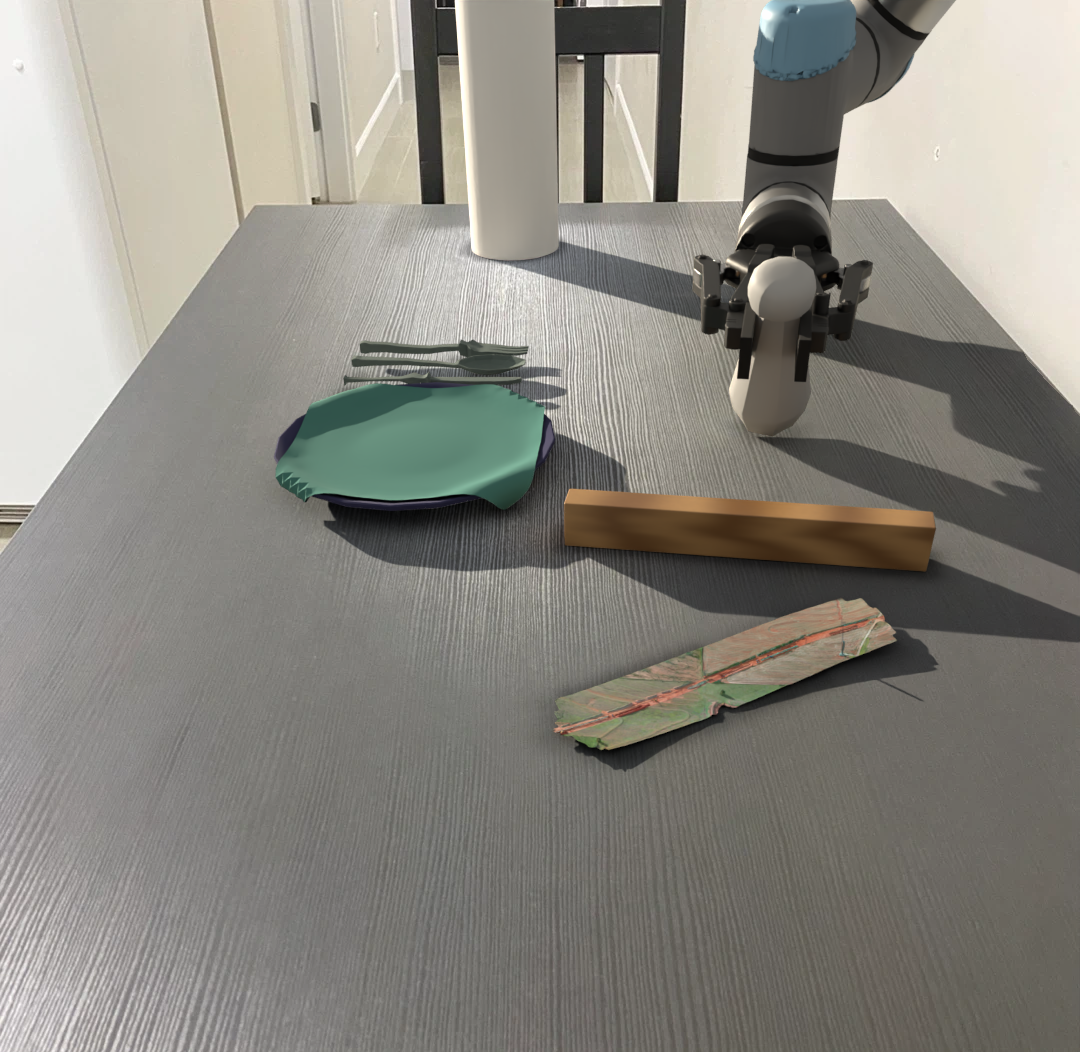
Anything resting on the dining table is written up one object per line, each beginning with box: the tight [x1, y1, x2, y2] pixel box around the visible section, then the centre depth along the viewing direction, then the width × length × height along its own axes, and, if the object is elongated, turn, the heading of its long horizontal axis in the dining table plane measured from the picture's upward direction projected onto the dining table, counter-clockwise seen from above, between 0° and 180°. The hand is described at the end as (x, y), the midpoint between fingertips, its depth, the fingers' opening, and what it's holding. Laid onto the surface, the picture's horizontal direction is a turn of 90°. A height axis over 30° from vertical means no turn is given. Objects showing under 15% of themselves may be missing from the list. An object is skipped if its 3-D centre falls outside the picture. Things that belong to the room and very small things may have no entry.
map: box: [552, 597, 898, 751], centre depth 58 cm, size 5×20×1 cm, turn 117°
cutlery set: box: [273, 339, 556, 512], centre depth 81 cm, size 20×30×2 cm, turn 176°
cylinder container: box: [454, 0, 560, 261], centre depth 108 cm, size 9×9×30 cm
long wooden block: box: [563, 488, 937, 572], centre depth 67 cm, size 22×2×3 cm, turn 79°
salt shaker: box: [728, 257, 816, 437], centre depth 75 cm, size 6×6×13 cm
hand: (773, 359), depth 69 cm, fingers closed on salt shaker, 3 cm apart
